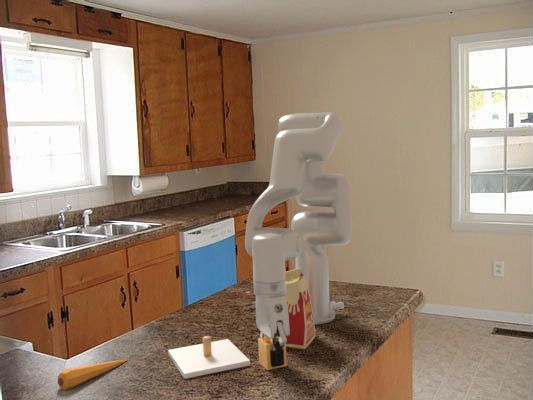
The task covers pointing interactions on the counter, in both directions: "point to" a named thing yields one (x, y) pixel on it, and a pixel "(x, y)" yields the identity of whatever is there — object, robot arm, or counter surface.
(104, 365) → the carrot
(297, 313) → the milk carton
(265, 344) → the gold domed block
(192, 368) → the white plate
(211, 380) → the counter surface
